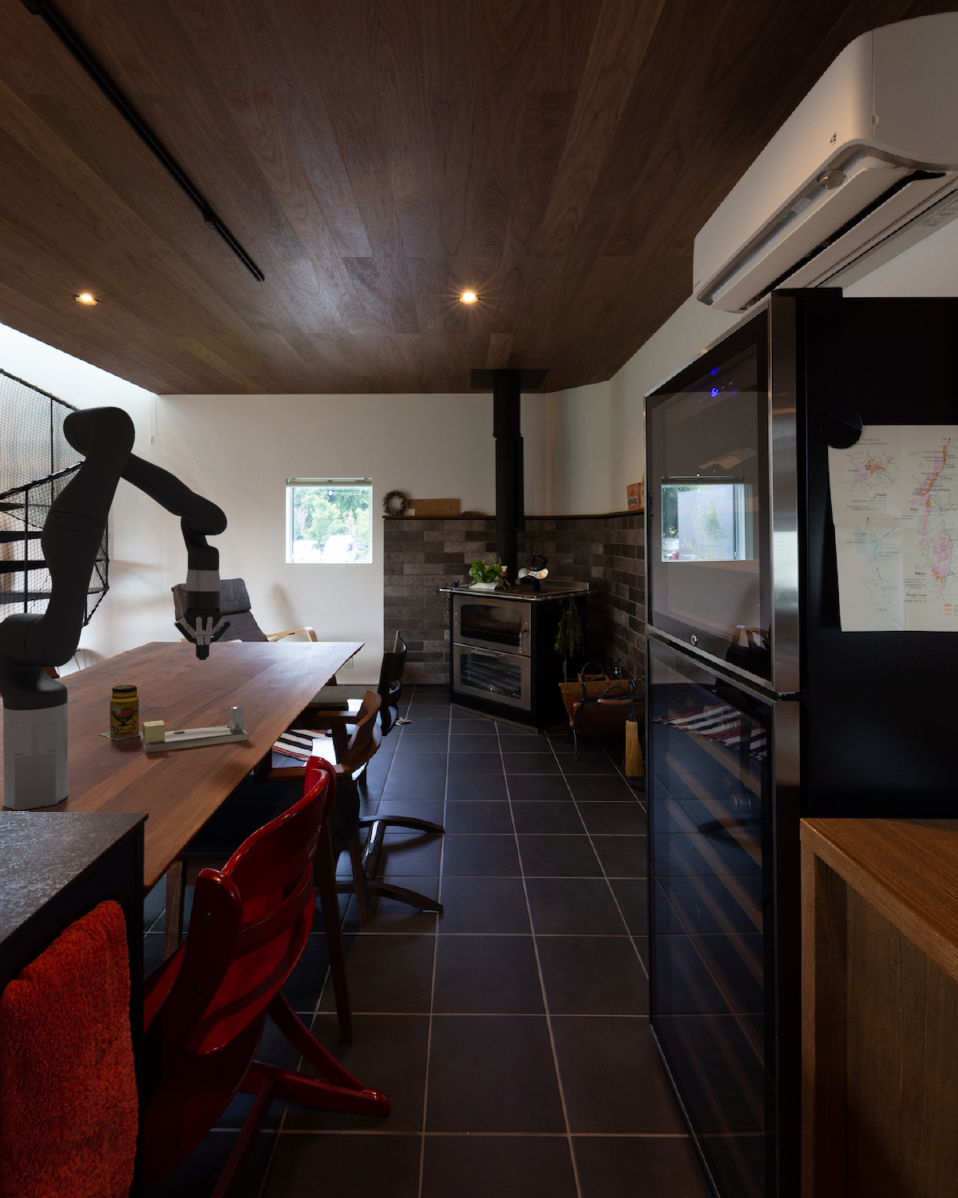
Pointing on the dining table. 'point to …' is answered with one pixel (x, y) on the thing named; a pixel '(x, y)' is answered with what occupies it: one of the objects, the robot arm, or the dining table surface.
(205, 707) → the dining table surface
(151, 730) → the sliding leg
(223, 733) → the board
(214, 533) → the robot arm
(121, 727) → the condiment
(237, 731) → the silver cylinder with leg
